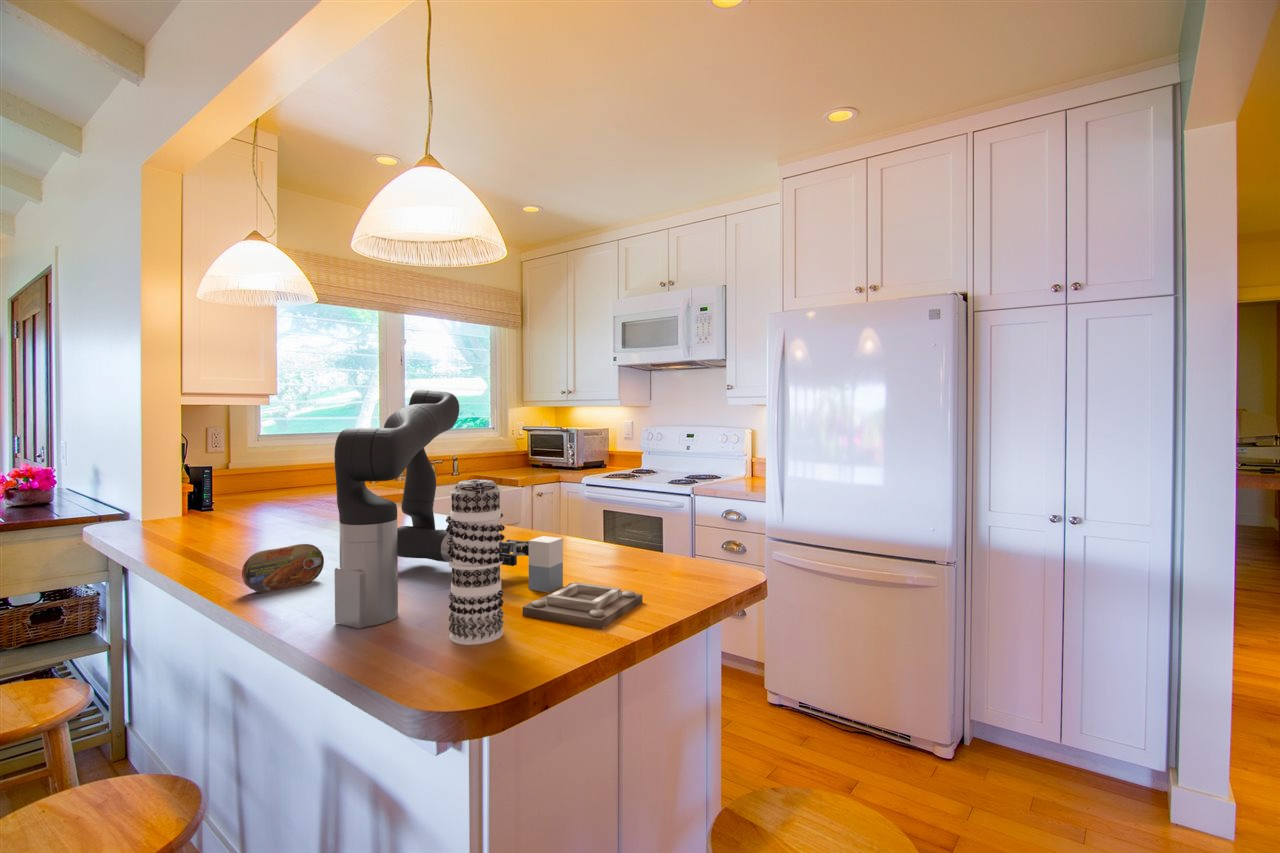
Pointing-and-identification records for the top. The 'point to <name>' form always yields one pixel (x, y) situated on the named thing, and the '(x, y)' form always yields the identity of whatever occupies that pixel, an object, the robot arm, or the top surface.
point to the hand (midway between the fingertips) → (528, 556)
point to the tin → (282, 567)
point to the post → (545, 563)
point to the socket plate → (584, 605)
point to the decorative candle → (475, 563)
